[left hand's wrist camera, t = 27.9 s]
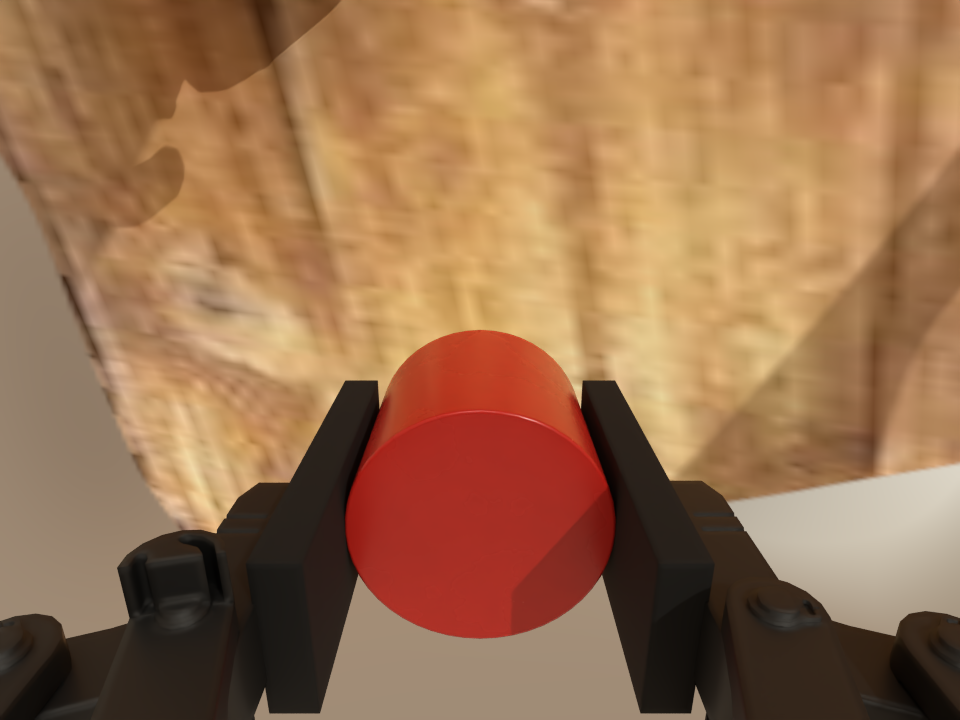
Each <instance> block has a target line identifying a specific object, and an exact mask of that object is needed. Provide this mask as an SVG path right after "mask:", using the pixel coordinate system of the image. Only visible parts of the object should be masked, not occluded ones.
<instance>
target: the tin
mask: <svg viewBox="0 0 960 720" xmlns="http://www.w3.org/2000/svg"><path fill="white" fill-rule="evenodd" d="M615 526H616V515H615V508H614V502H613V498H612V495H611V492H610V488H609V486H608V483H607V480H606V477H605V475H604V472H603V469H602V466H601V464H600V461H599V458H598V455H597V453H596V450H595V447H594V444H593V442H592V439H591V436H590V433H589V430H588V428H587V425H586V422H585V419H584V417H583V414H582V411H581V408H580V406H579V403H578V400H577V397H576V395H575V392H574V389H573V387H572V385H571V383H570V381H569V379H568V377H567V376H566V374H565V373H564V371H563V370H562V368H561V367H560V366H559V365H558V364H557V363H556V362H555V360H554V359H553V358H551V357H550V356H549V355H548V354H547V353H546V352H545V351H543V350H542V349H540V348H539V347H537V346H536V345H534V344H533V343H530V342H528V341H526V340H524V339H522V338H520V337H517V336H514V335H511V334H507V333H502V332H497V331H487V330H473V331H464V332H458V333H453V334H450V335H447V336H444V337H441V338H439V339H436V340H434V341H432V342H430V343H428V344H427V345H425V346H423V347H422V348H420V349H419V350H417V351H416V352H415V353H414V354H413V355H411V356H410V357H409V358H408V359H407V360H406V361H405V362H404V363H403V364H402V366H401V367H400V368H399V369H398V371H397V372H396V374H395V375H394V377H393V378H392V380H391V382H390V384H389V386H388V388H387V391H386V393H385V396H384V399H383V402H382V404H381V407H380V410H379V413H378V415H377V418H376V421H375V424H374V426H373V429H372V432H371V435H370V438H369V440H368V443H367V446H366V449H365V451H364V454H363V457H362V460H361V462H360V465H359V468H358V471H357V473H356V476H355V479H354V482H353V484H352V487H351V490H350V494H349V497H348V500H347V505H346V512H345V534H346V541H347V547H348V550H349V553H350V556H351V559H352V562H353V564H354V566H355V568H356V570H357V572H358V574H359V576H360V577H361V579H362V580H363V582H364V583H365V585H366V586H367V587H368V589H369V590H370V591H371V592H372V593H373V594H374V595H375V596H376V598H377V599H378V600H380V601H381V602H382V603H383V604H384V605H385V606H387V607H388V608H389V609H390V610H392V611H393V612H395V613H396V614H398V615H399V616H400V617H402V618H404V619H406V620H408V621H410V622H411V623H413V624H415V625H417V626H420V627H423V628H425V629H428V630H430V631H434V632H437V633H441V634H445V635H449V636H456V637H462V638H478V639H482V638H498V637H505V636H511V635H515V634H519V633H523V632H527V631H530V630H533V629H535V628H538V627H541V626H543V625H545V624H547V623H549V622H551V621H553V620H555V619H557V618H558V617H560V616H562V615H563V614H565V613H566V612H568V611H569V610H570V609H572V608H573V607H574V606H575V605H576V604H577V603H579V602H580V601H581V600H582V599H583V598H584V597H585V596H586V595H587V594H588V593H589V592H590V590H591V589H592V588H593V587H594V585H595V584H596V582H597V581H598V580H599V578H600V577H601V575H602V573H603V571H604V569H605V567H606V565H607V563H608V560H609V557H610V554H611V551H612V549H613V544H614V538H615Z"/></svg>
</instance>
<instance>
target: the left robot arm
mask: <svg viewBox="0 0 960 720" xmlns="http://www.w3.org/2000/svg"><path fill="white" fill-rule="evenodd" d="M581 411H582V414H583V417H584V419H585V422H586V425H587V428H588V430H589V433H590V436H591V439H592V442H593V444H594V447H595V450H596V453H597V455H598V458H599V461H600V464H601V466H602V469H603V472H604V475H605V477H606V480H607V483H608V486H609V488H610V492H611V495H612V498H613V502H614V508H615V515H616V526H615V538H614V544H613V549H612V551H611V554H610V557H609V560H608V563H607V565H606V567H605V569H604V571H603V573H602V576H603V579H604V583H605V586H606V590H607V594H608V597H609V601H610V605H611V608H612V612H613V615H614V619H615V623H616V626H617V630H618V633H619V637H620V641H621V644H622V648H623V652H624V655H625V659H626V662H627V666H628V670H629V673H630V677H631V681H632V684H633V687H634V691H635V695H636V699H637V702H638V706H639V710H640V713H691V710H692V704H693V698H694V692H695V685H696V687H697V689H698V692H699V694H700V697H701V699H702V702H703V705H704V707H705V710H706V717H705V720H960V618H957V617H954V616H951V615H948V614H943V613H936V612H928V611H924V612H917V613H911V614H908V615H907V616H906V617H905V618H904V619H903V620H901V621H900V624H899V627H898V630H897V634H896V636H891V635H887V634H883V633H878V632H874V631H869V630H865V629H861V628H856V627H852V626H848V625H845V624H841V623H838V622H835V621H832V620H831V618H830V616H829V615H828V613H827V612H826V610H825V609H824V607H823V606H822V604H821V603H820V602H818V601H817V600H816V599H815V598H813V597H812V596H811V595H810V594H809V593H807V592H806V591H804V590H802V589H800V588H798V587H796V586H794V585H792V584H790V583H788V582H784V581H781V580H778V578H777V577H776V575H775V574H774V572H773V571H772V569H771V568H770V566H769V565H768V563H767V562H766V560H765V559H764V557H763V556H762V554H761V553H760V551H759V550H758V548H757V547H756V545H755V544H754V542H753V541H752V539H751V538H750V536H749V535H748V533H747V532H746V531H744V527H743V526H742V524H741V523H740V521H739V520H738V518H737V517H734V512H733V511H732V509H731V508H730V506H729V505H728V503H727V502H726V500H725V499H724V497H723V496H722V495H721V494H719V493H718V492H716V491H715V490H714V489H712V488H711V487H709V486H708V485H707V484H705V483H704V482H703V481H670V480H669V479H668V477H667V475H666V473H665V471H664V469H663V468H662V466H661V464H660V462H659V460H658V458H657V457H656V455H655V453H654V451H653V449H652V448H651V446H650V444H649V442H648V440H647V438H646V437H645V435H644V433H643V431H642V429H641V427H640V426H639V424H638V422H637V420H636V418H635V416H634V415H633V413H632V411H631V409H630V407H629V405H628V404H627V402H626V400H625V398H624V396H623V394H622V393H621V391H620V389H619V387H618V385H617V383H616V382H615V381H583V385H582V401H581ZM378 413H379V394H378V381H345V382H344V384H343V386H342V388H341V390H340V392H339V393H338V395H337V397H336V399H335V401H334V403H333V404H332V406H331V408H330V410H329V412H328V414H327V415H326V417H325V419H324V421H323V423H322V425H321V426H320V428H319V430H318V432H317V434H316V436H315V437H314V439H313V441H312V443H311V445H310V447H309V448H308V450H307V452H306V454H305V456H304V458H303V459H302V461H301V463H300V465H299V467H298V469H297V470H296V472H295V474H294V476H293V478H292V480H291V481H290V483H258V484H257V485H255V486H254V487H253V488H251V489H250V490H248V491H247V492H246V493H244V494H243V495H241V496H240V497H239V498H238V499H237V500H236V502H235V503H234V505H233V506H232V508H231V509H230V511H229V512H228V514H227V518H226V519H224V520H223V522H222V523H221V525H220V526H219V528H218V529H217V533H211V532H208V531H204V530H182V531H177V532H173V533H169V534H165V535H161V536H159V537H157V538H154V539H152V540H150V541H148V542H145V543H143V544H142V545H140V546H139V547H137V548H136V549H135V550H133V551H132V552H130V553H129V554H128V555H127V556H126V557H125V558H124V559H123V561H122V562H121V563H120V565H119V566H118V567H117V569H118V573H119V577H120V581H121V585H122V589H123V593H124V597H125V601H126V605H127V610H128V614H129V617H130V619H129V621H128V624H124V625H121V626H118V627H114V628H111V629H106V630H102V631H98V632H94V633H89V634H85V635H80V636H76V637H71V638H67V639H66V638H65V635H64V632H63V628H62V625H61V624H60V623H59V622H58V621H57V620H56V619H55V618H53V617H52V616H47V615H41V614H30V615H22V616H15V617H12V618H9V619H6V620H3V621H0V720H255V717H254V714H255V711H256V709H257V706H258V704H259V701H260V699H261V696H262V693H263V691H264V688H265V689H266V695H267V701H268V707H269V713H320V711H321V708H322V704H323V700H324V697H325V693H326V689H327V686H328V682H329V679H330V675H331V671H332V668H333V664H334V660H335V657H336V653H337V650H338V646H339V642H340V639H341V635H342V632H343V627H344V624H345V621H346V617H347V613H348V610H349V606H350V603H351V599H352V595H353V592H354V588H355V584H356V581H357V577H358V572H357V570H356V568H355V566H354V564H353V562H352V559H351V556H350V553H349V550H348V547H347V541H346V534H345V512H346V505H347V500H348V497H349V494H350V490H351V487H352V484H353V482H354V479H355V476H356V473H357V471H358V468H359V465H360V462H361V460H362V457H363V454H364V451H365V449H366V446H367V443H368V440H369V438H370V435H371V432H372V429H373V426H374V424H375V421H376V418H377V415H378Z"/></svg>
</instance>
